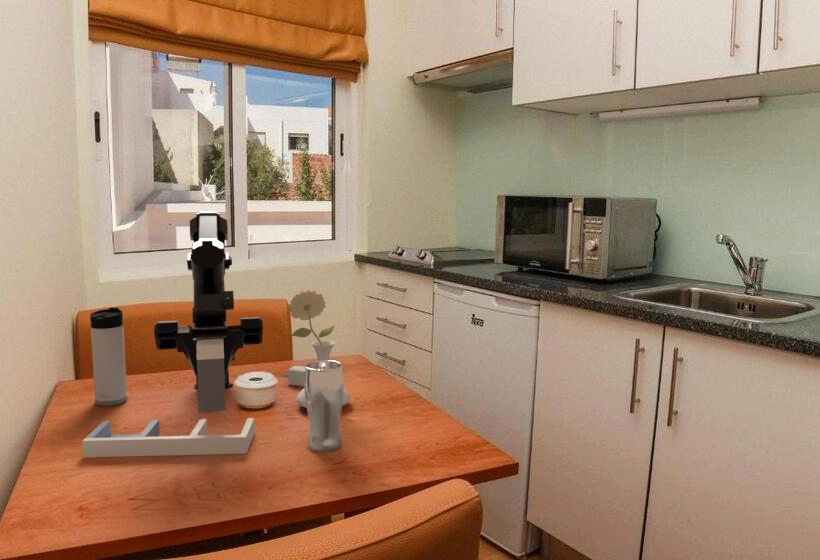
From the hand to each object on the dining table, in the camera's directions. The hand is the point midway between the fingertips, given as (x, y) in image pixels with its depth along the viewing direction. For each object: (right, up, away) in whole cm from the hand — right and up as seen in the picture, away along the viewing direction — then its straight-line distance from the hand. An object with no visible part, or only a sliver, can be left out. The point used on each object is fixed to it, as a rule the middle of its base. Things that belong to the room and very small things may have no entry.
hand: (211, 373), depth 111 cm
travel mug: (-29, -10, +25) cm, 40 cm away
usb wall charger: (+8, -8, +39) cm, 41 cm away
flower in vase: (+16, -11, +24) cm, 30 cm away
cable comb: (-8, -13, +3) cm, 15 cm away
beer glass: (+20, -14, +3) cm, 24 cm away
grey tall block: (0, -6, +2) cm, 7 cm away
